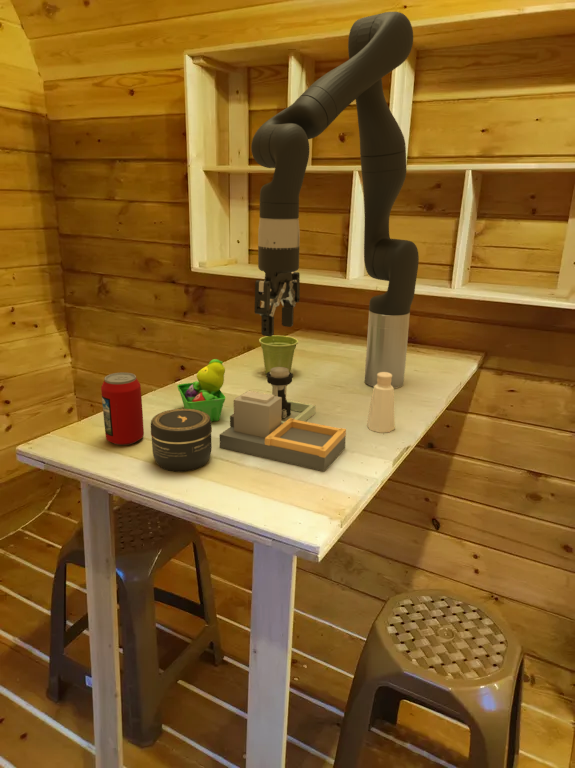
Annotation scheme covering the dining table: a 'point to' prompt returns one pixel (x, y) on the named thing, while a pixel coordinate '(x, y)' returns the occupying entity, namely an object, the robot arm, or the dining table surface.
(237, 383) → the dining table surface
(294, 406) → the parts tray
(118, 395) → the beverage can
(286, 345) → the plant pot
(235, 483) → the dining table surface
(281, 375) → the black and tan cylinder
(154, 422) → the jar
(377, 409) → the pepper shaker
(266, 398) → the gray stepped base block
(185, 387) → the fruit basket
